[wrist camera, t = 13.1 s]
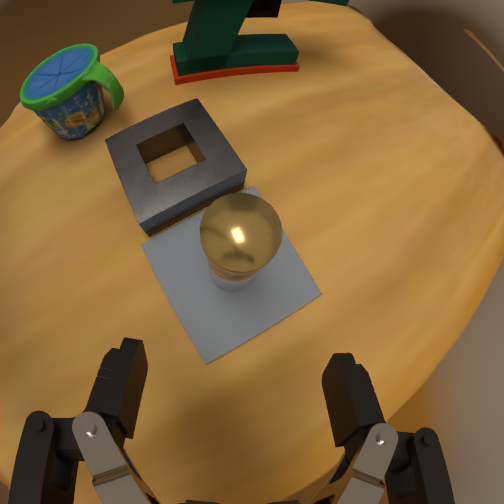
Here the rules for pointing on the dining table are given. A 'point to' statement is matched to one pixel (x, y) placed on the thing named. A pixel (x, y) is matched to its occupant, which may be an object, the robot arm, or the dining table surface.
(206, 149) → the socket block
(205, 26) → the power tool
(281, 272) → the mat
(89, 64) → the snack cup
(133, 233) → the dining table surface
